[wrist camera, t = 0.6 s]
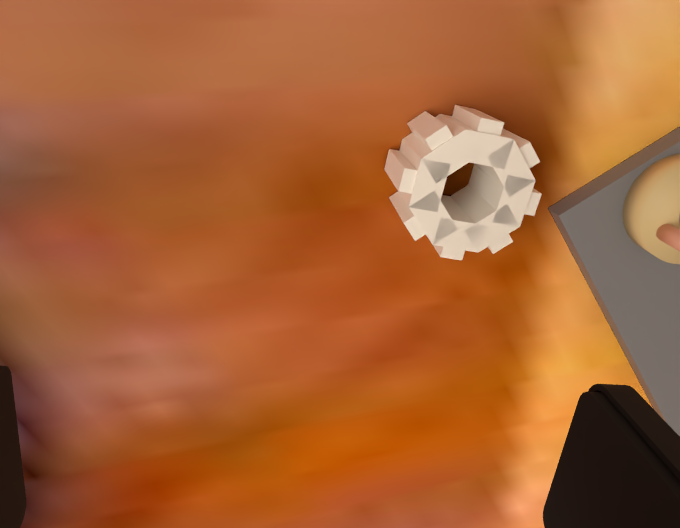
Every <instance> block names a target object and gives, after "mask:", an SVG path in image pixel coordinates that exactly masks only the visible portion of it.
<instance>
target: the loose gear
mask: <svg viewBox="0 0 680 528" xmlns="http://www.w3.org/2000/svg"><path fill="white" fill-rule="evenodd" d="M407 124H408V126H409V128H410V129H411V131H412V133H411V134H409V135H408V136H406V137H405V138H403V139H402V142H401V146H400V150H399V151H398V150H393V149H389V151H388V156H387V160H386V164H385V168H384V170H385V171H386V173H387V174H388V176H389V178H390V179H391V181H392V182H393V184H394V185H395V187H396V189H397V190H398V192H396V193H395V194H393V195H392V196H390V197H389V199H390V200H391V202H392V204H393V206H394V207H395V209H396V211H397V213H398V214H399V216H400V218H401V219H402V221H403V223H404V224H405V226H406V228H407V229H408V231H409V232H410V234H411V235H412V237H413V238H414V240H415V241H416V240H417V239H419V238H421V237H422V236H424V235H425V234H426V235H427V237H428V238H429V240H430V242H431V243H432V245H433V246H434V248H435V249H436V251H437V252H438V254H439V255H440V257H444V258H450V259H456V260H462V259H463V256H464V253H465V250H466V251H472V252H480V251H482V250H483V249H485V248H486V247H488V249H489V250H490V251H491V252H492V253H493V254H494V253H496V252H497V251H499V250H501V249H502V248H504V247H505V246H507V245H509V244H510V243H512V242H513V241H512V239H511V237H510V235H509V233H511V232H512V231H514V230H516V229H517V228H519V227H520V225H521V222H522V219H523V216H524V214H526V215H532V216H534V215H535V212H536V209H537V206H538V203H539V200H540V198H541V195H542V194H541V193H540V192H538V191H537V190H535V189H534V188H533V187H534V184H535V181H536V180H535V178H534V176H533V174H532V172H531V171H530V168H531V167H533V166H534V165H536V164H537V163H539V162H540V160H539V158H538V157H537V155H536V153H535V151H534V149H533V147H532V145H531V143H530V142H529V141H527V140H525V139H523V138H521V137H519V136H517V135H515V134H513V133H511V132H509V131H507V130H505V129H503V125H504V122H502V121H500V120H498V119H496V118H494V117H492V116H489V115H487V114H485V113H483V112H481V111H479V110H477V109H473V108H468V107H464V106H459V105H455V107H454V111H453V115H452V116H449V115H444V114H439V115H438V116H436V117H434V116H432V115H431V114H429V113H428V112H426V111H425V112H423V113H422V114H420V115H419V116H417V117H416V118H414V119H413V120H411V121H410V122H408V123H407ZM469 162H470V163H474V166H473V170H472V173H471V176H470V180H469V183H468V185H467V186H465V187H464V188H462V189H461V190H459V191H457V192H456V193H454V194H453V195H451V196H445V195H442V193H443V190H444V186H445V182H446V179H447V176H449V175H450V174H452V173H453V172H455V171H456V170H458V169H460V168H461V167H463V166H464V165H466V164H467V163H469Z"/></svg>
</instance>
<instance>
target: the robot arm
mask: <svg viewBox="0 0 680 528" xmlns="http://www.w3.org/2000/svg"><path fill="white" fill-rule="evenodd" d="M25 510H26V494H25V486H24V478H23V469H22V461H21V452H20V444H19V435H18V427H17V418H16V410H15V402H14V393H13V385H12V376H11V371H10V369H9V367H7V366H0V528H20V526H21V524H22V521H23V518H24V514H25ZM543 521H544V526H545V528H680V436H679V435H678V434H677V433H676V432H675V431H674V430H673V429H672V428H671V427H670V426H669V425H668V424H667V423H666V422H665V421H664V420H663V419H662V418H661V416H660V415H659V414H658V413H657V412H656V411H655V410H654V409H653V408H652V407H651V406H650V405H649V404H648V403H647V402H646V401H645V400H644V399H643V398H642V397H641V396H640V395H639V394H638V393H637V392H636V390H635V389H633V388H632V387H630V386H627V385H610V384H595V385H593V386H592V387H591V388H590V389H589V391H588V392H584V393H583V394H582V395H581V396H580V398H579V401H578V404H577V407H576V410H575V413H574V416H573V419H572V422H571V425H570V429H569V432H568V435H567V438H566V441H565V444H564V447H563V450H562V453H561V457H560V460H559V463H558V466H557V469H556V472H555V475H554V478H553V481H552V484H551V488H550V491H549V494H548V497H547V500H546V503H545V506H544V511H543Z"/></svg>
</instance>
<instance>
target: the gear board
mask: <svg viewBox="0 0 680 528" xmlns="http://www.w3.org/2000/svg"><path fill="white" fill-rule="evenodd" d="M548 209H549V211H550V213H551V215H552V217H553V219H554V221H555V223H556V224H557V226H558V228H559V230H560V232H561V234H562V236H563V238H564V240H565V242H566V243H567V245H568V247H569V249H570V251H571V253H572V255H573V257H574V259H575V261H576V262H577V264H578V266H579V268H580V270H581V272H582V274H583V276H584V278H585V280H586V281H587V283H588V285H589V287H590V289H591V291H592V293H593V295H594V297H595V299H596V300H597V302H598V304H599V306H600V308H601V310H602V312H603V314H604V316H605V318H606V319H607V321H608V323H609V325H610V327H611V329H612V331H613V333H614V335H615V337H616V338H617V340H618V342H619V344H620V346H621V348H622V350H623V352H624V354H625V356H626V357H627V359H628V361H629V363H630V365H631V367H632V369H633V371H634V373H635V375H636V376H637V378H638V380H639V382H640V384H641V386H642V388H643V390H644V392H645V394H646V395H647V397H648V399H649V401H650V403H651V405H652V407H653V409H654V410H655V411H656V412H657V413H658V414H659V415H660V416H661V418H662V419H663V420H664V421H665V422H666V423H667V424H668V425H669V426H670V427H671V428H672V429H673V430H674V431H675V432H676V433H677V434H678V435H679V436H680V127H678V128H677V129H675V130H673V131H672V132H670V133H668V134H667V135H665V136H664V137H662V138H660V139H659V140H657V141H656V142H654V143H652V144H651V145H649V146H647V147H646V148H644V149H643V150H641V151H639V152H638V153H636V154H635V155H633V156H631V157H630V158H628V159H626V160H625V161H623V162H622V163H620V164H618V165H617V166H615V167H614V168H612V169H610V170H609V171H607V172H605V173H604V174H602V175H601V176H599V177H597V178H596V179H594V180H592V181H591V182H589V183H588V184H586V185H584V186H583V187H581V188H580V189H578V190H576V191H575V192H573V193H571V194H570V195H568V196H567V197H565V198H563V199H562V200H560V201H559V202H557V203H555V204H554V205H552V206H550V207H549V208H548Z"/></svg>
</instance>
